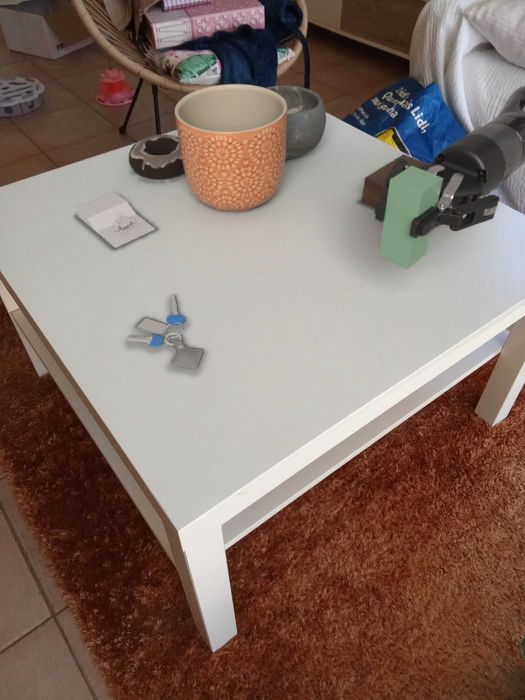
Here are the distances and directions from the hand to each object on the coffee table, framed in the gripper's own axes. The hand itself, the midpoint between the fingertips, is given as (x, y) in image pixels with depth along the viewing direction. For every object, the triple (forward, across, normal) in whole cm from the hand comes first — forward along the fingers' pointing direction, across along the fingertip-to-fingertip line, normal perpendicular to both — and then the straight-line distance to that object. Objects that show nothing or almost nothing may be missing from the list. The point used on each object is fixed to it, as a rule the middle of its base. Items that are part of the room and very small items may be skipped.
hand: (396, 221), depth 62 cm
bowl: (-26, -41, +16) cm, 51 cm away
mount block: (-28, -15, +16) cm, 35 cm away
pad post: (-3, 0, +6) cm, 7 cm away
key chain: (+21, -19, +16) cm, 32 cm away
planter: (-9, -37, +16) cm, 41 cm away
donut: (-7, -54, +16) cm, 57 cm away
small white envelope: (+9, -45, +16) cm, 49 cm away
